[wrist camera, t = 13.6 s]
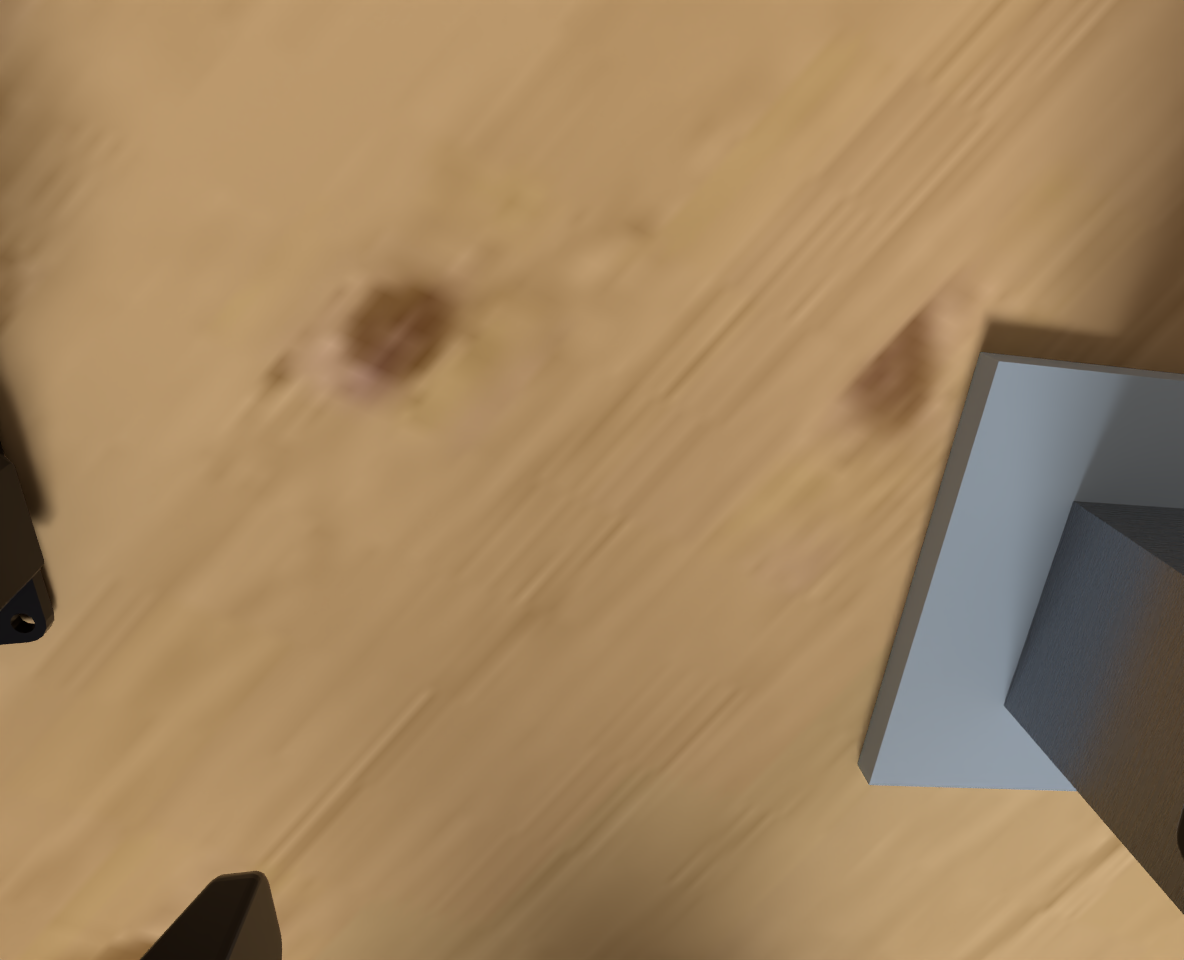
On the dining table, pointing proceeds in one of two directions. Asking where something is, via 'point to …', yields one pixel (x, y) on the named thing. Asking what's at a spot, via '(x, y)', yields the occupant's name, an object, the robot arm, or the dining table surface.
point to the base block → (1010, 558)
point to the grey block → (1114, 675)
